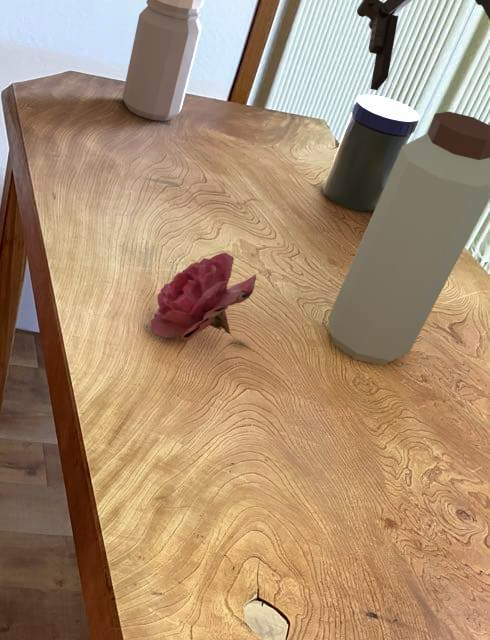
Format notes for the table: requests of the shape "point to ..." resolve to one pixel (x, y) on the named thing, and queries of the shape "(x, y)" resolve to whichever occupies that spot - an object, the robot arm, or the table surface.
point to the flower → (199, 299)
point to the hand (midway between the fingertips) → (440, 97)
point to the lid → (385, 115)
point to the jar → (162, 58)
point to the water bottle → (413, 239)
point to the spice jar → (362, 166)
